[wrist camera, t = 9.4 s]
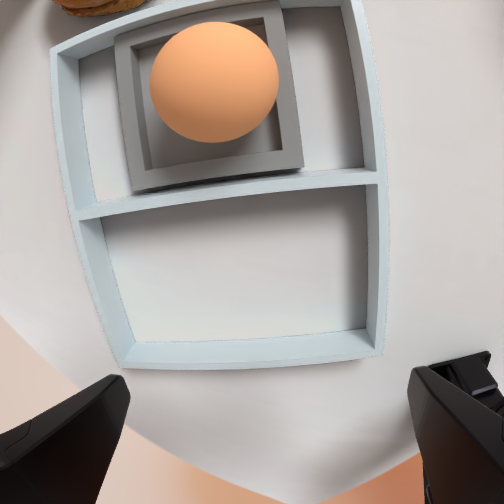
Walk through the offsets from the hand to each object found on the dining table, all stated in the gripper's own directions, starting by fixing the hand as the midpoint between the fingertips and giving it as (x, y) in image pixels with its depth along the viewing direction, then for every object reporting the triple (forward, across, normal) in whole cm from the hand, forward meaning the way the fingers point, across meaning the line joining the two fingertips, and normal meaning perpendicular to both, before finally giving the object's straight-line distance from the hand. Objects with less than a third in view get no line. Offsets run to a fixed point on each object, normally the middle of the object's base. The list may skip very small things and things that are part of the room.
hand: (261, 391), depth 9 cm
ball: (+11, +3, -10) cm, 15 cm away
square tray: (+11, +3, -10) cm, 15 cm away
